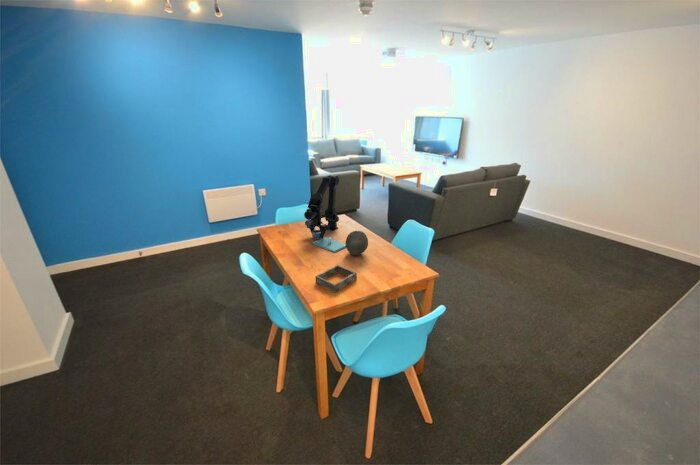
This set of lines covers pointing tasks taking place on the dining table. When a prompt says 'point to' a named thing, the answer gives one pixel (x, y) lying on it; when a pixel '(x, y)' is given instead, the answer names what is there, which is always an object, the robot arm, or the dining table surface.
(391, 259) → the dining table surface
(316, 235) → the block
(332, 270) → the frame
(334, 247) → the shaft base
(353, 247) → the dark grey ball
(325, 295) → the dining table surface
